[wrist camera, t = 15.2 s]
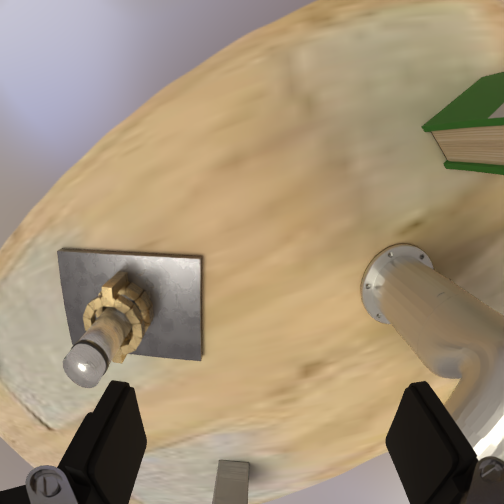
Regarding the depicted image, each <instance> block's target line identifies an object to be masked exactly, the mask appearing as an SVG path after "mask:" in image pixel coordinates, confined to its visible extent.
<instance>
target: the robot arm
mask: <svg viewBox="0 0 504 504" xmlns="http://www.w3.org/2000/svg"><path fill="white" fill-rule="evenodd" d="M388 254H389V255H388ZM366 284H367V285H366ZM361 299H362V302H363V305H364V307H365V309H366V310H367V312H368V313H369V314H370V315H371V317H372V318H374V319H375V320H377V321H379V322H381V323H385V324H392V326H393V327H394V328H395V329H396V330H397V332H398V333H399V334H400V335H401V336H402V338H403V339H404V340H405V341H406V343H407V344H408V345H409V346H410V347H411V349H412V350H413V351H414V352H415V354H416V355H417V356H418V357H419V359H420V360H421V361H422V362H423V363H424V365H425V366H426V367H427V368H428V369H429V370H430V371H431V372H432V373H434V374H435V375H438V376H440V377H443V378H450V379H459V378H461V379H460V381H459V383H458V385H457V386H456V388H455V389H454V391H453V392H452V394H451V396H450V397H449V399H448V400H447V401H446V403H445V404H444V405H443V404H442V402H441V401H440V399H439V398H438V396H437V395H436V394H435V392H434V391H433V389H432V388H431V387H430V385H429V384H428V383H427V382H426V381H422V382H416V383H411V384H410V385H409V387H408V388H406V389H405V391H404V394H403V396H402V399H401V402H400V404H399V407H398V410H397V412H396V415H395V417H394V420H393V422H392V425H391V427H390V429H389V432H388V434H387V436H386V446H387V449H388V451H389V454H390V456H391V458H392V461H393V463H394V465H395V468H396V470H397V472H398V475H399V477H400V480H401V482H402V484H403V487H404V489H405V492H406V495H407V497H408V500H409V502H410V504H504V315H502V314H500V313H499V312H497V311H495V310H494V309H492V308H491V307H489V306H487V305H486V304H484V303H483V302H481V301H480V300H479V299H477V298H476V297H474V296H473V295H471V294H470V293H468V292H467V291H465V290H464V289H462V288H461V287H459V286H458V285H456V284H455V283H453V282H452V281H451V279H447V278H446V277H444V276H443V275H441V274H439V273H438V272H436V271H435V270H434V268H433V264H432V262H431V260H430V258H429V257H428V256H427V254H426V253H425V252H424V251H422V250H421V249H419V248H417V247H415V246H412V245H409V244H399V245H394V246H391V247H389V248H387V249H385V250H383V251H382V252H381V253H379V254H378V255H377V256H376V257H375V258H374V259H373V260H372V262H371V263H370V264H369V266H368V267H367V269H366V271H365V273H364V276H363V279H362V283H361ZM146 445H147V439H146V435H145V431H144V427H143V423H142V419H141V415H140V411H139V407H138V403H137V399H136V394H135V390H134V388H133V387H130V385H129V383H127V382H121V381H114V380H112V381H111V382H110V383H109V385H108V387H107V388H106V390H105V392H104V394H103V395H102V397H101V399H100V401H99V402H98V404H97V406H96V408H95V410H94V411H93V412H90V413H88V414H87V415H86V416H85V418H84V420H83V422H82V423H81V425H80V427H79V429H78V430H77V432H76V434H75V436H74V438H73V439H72V441H71V443H70V445H69V447H68V448H67V450H66V452H65V454H64V456H63V458H62V460H61V461H60V463H59V465H58V467H57V468H56V467H54V466H49V465H44V466H39V467H36V468H34V469H33V470H32V471H30V473H29V474H28V476H27V478H26V485H23V486H19V487H15V488H12V489H8V490H4V491H0V504H128V503H129V500H130V497H131V493H132V490H133V487H134V484H135V480H136V477H137V474H138V471H139V468H140V465H141V461H142V458H143V455H144V452H145V449H146Z"/></svg>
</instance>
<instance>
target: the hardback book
mask: <svg viewBox="0 0 504 504" xmlns="http://www.w3.org/2000/svg"><path fill="white" fill-rule="evenodd" d="M422 128H423V130H424V131H425V132H432V134H433V135H434V137H435V139H436V140H437V142H438V144H439V146H440V147H441V149H442V151H443V153H444V154H445V156H446V158H447V161H445V162H444V163H443V164H444V166H445V168H446V169H456V170H466V171H475V172H484V173H492V174H500V175H504V72H501V73H497V74H493V75H489V76H485V77H481V78H480V79H479V80H478V81H477V82H475V83H474V84H473V85H472V86H471V87H469V88H468V89H467V90H466V91H465V92H463V93H462V94H461V95H460V96H459V97H457V98H456V99H455V100H454V101H452V102H451V103H450V104H449V105H448V106H446V107H445V108H444V109H443V110H442V111H440V112H439V113H438V114H437V115H435V116H434V117H433V118H432V119H431V120H429V121H428V122H427V123H426V124H424V125H423V126H422Z"/></svg>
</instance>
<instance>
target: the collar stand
mask: <svg viewBox="0 0 504 504" xmlns="http://www.w3.org/2000/svg"><path fill="white" fill-rule="evenodd" d="M57 254H58V263H59V271H60V279H61V286H62V293H63V299H64V305H65V311H66V316H67V321H68V326H69V331H70V336H71V340H72V345H74V344H75V343H76V342H77V341H79V340H80V338H81V337H82V336H83V335H84V334H85V333H86V331H87V330H88V329H89V328H90V327H91V325H92V324H93V323H94V322H95V321H96V320H97V318H98V317H99V316H100V315H101V314H102V313H103V312H104V310H105V309H106V308H107V307H115V308H116V309H118V310H119V311H121V312H122V313H124V314H125V315H126V316H127V318H128V319H129V321H130V322H131V324H132V329H131V330H130V332H129V333H128V335H127V336H126V338H125V340H124V341H123V343H122V344H121V346H120V348H119V349H118V351H117V353H116V354H115V356H114V357H113V359H112V361H113V362H116V363H122V362H123V361H124V359H125V357H126V355H127V354H136V355H144V356H153V357H162V358H172V359H183V360H195V361H201V359H202V256H193V255H173V254H154V253H135V252H117V251H99V250H81V249H63V248H62V249H60V250H58V251H57ZM119 295H120V296H119ZM122 295H126V296H127V297H129V298H130V299H132V300H133V301H135V303H136V304H137V306H138V307H139V309H140V310H141V313H140V311H139V310H138V308H137V307H136V305H133V302H131V301H130V300H128V299H127V298H125V297H124V296H122ZM132 305H133V306H132Z"/></svg>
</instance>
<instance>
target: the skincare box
mask: <svg viewBox="0 0 504 504" xmlns="http://www.w3.org/2000/svg"><path fill="white" fill-rule="evenodd" d="M248 481H249V463H247V462H235V461H225V460H219V464H218V470H217V476H216V482H215V489H214V495H213V501H212V504H248Z"/></svg>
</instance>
